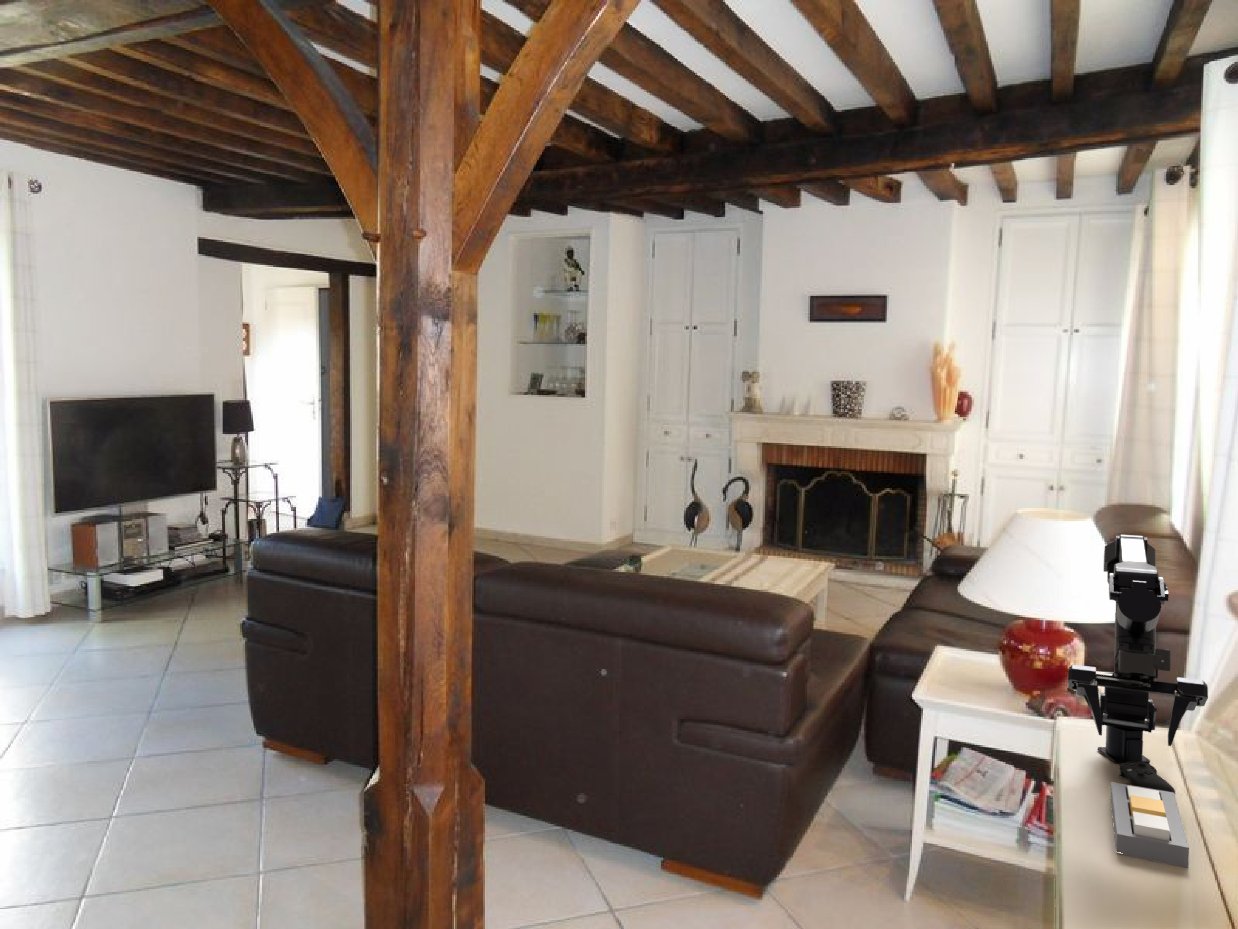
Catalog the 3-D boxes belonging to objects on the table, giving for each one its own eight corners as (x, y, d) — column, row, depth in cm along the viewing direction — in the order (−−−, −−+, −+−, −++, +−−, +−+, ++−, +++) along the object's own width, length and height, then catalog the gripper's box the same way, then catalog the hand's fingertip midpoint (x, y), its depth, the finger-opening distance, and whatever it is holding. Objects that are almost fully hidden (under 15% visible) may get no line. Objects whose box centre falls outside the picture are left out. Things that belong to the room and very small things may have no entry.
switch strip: (1110, 799, 146) (1111, 782, 146) (1173, 810, 142) (1174, 792, 142) (1116, 853, 129) (1117, 834, 129) (1188, 867, 125) (1189, 847, 125)
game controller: (1180, 794, 146) (1153, 768, 146) (1154, 814, 147) (1127, 788, 147) (1157, 770, 155) (1132, 745, 156) (1133, 789, 156) (1108, 764, 157)
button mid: (1129, 807, 138) (1130, 795, 138) (1162, 812, 136) (1162, 800, 136) (1131, 819, 134) (1132, 807, 134) (1164, 825, 132) (1165, 812, 132)
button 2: (1132, 824, 133) (1132, 811, 133) (1166, 830, 131) (1166, 817, 131) (1134, 837, 129) (1134, 824, 129) (1169, 844, 127) (1169, 830, 127)
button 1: (1126, 797, 144) (1127, 785, 144) (1158, 802, 142) (1158, 790, 142) (1128, 808, 140) (1129, 796, 140) (1160, 814, 138) (1161, 802, 138)
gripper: (1069, 619, 138) (1065, 718, 132) (1210, 633, 129) (1213, 740, 123) (1070, 640, 147) (1066, 734, 141) (1202, 655, 138) (1204, 755, 132)
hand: (1134, 740), depth 134 cm, fingers open, 9 cm apart
